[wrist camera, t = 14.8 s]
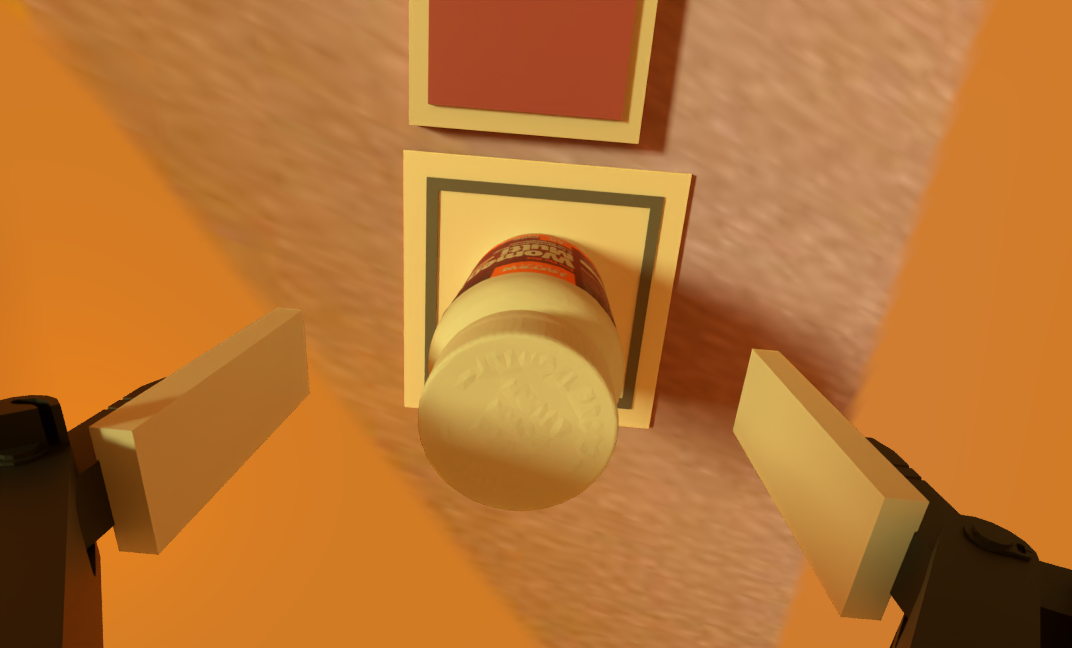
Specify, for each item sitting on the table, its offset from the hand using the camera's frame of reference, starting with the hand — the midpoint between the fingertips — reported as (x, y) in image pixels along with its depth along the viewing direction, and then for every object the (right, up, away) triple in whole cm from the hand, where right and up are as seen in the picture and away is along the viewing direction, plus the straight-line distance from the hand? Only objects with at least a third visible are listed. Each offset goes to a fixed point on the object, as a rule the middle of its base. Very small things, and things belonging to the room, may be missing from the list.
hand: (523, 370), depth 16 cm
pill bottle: (0, +3, +9) cm, 9 cm away
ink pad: (0, +14, +5) cm, 15 cm away
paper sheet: (0, +3, +9) cm, 9 cm away
